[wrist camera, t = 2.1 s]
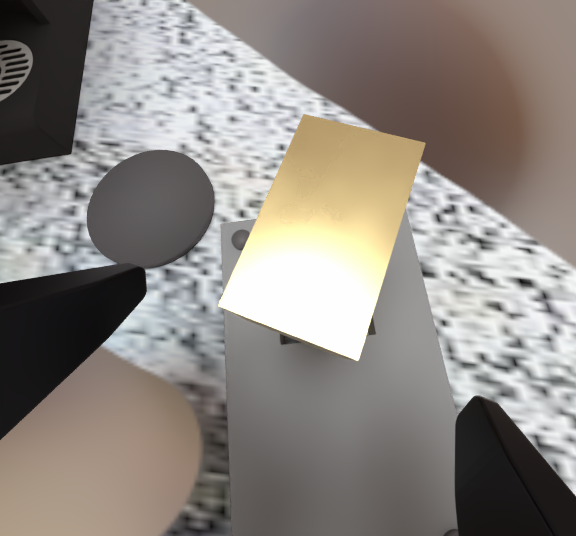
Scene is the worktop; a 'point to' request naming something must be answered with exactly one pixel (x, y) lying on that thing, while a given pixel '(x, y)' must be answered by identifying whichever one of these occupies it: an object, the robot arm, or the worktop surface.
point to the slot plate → (341, 419)
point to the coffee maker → (40, 75)
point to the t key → (325, 235)
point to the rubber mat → (150, 209)
